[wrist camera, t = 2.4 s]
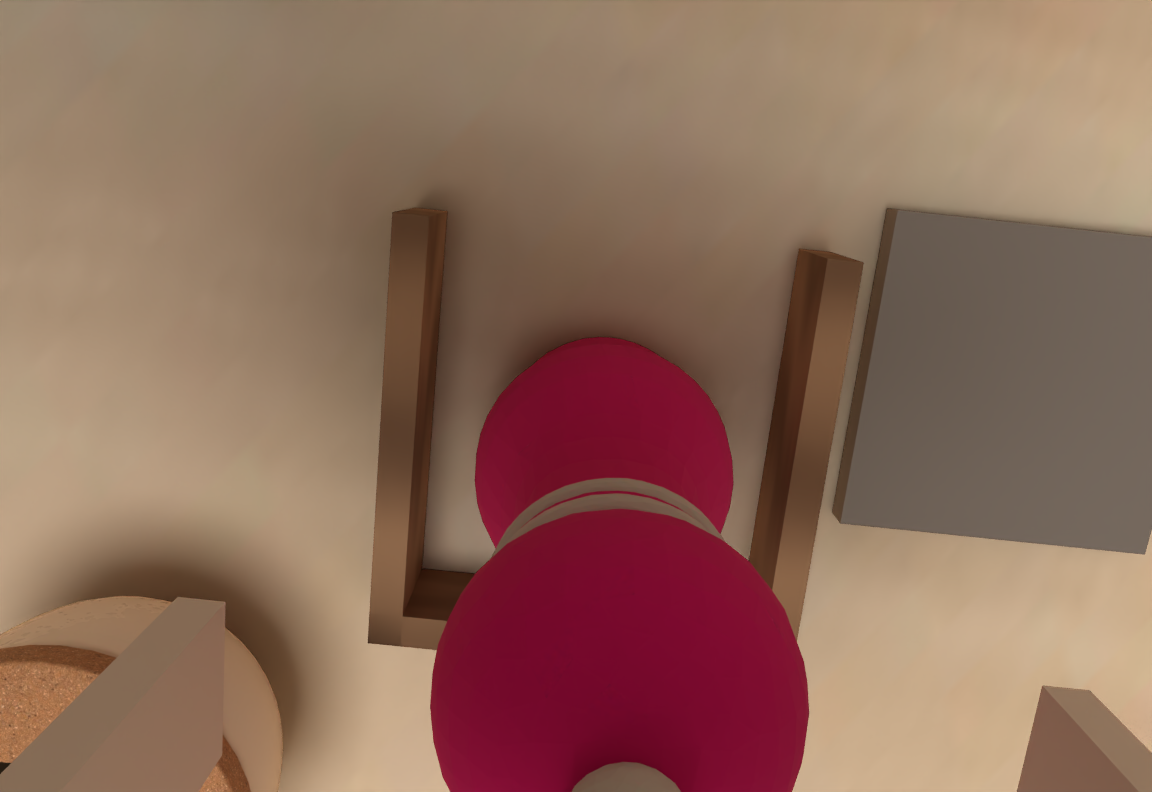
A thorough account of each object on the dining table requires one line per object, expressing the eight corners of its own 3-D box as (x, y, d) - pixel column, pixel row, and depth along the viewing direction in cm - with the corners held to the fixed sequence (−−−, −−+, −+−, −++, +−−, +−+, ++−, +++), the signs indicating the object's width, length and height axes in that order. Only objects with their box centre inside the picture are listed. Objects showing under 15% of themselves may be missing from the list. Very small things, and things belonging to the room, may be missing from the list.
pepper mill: (489, 319, 30) (306, 601, 10) (716, 322, 29) (974, 612, 10) (491, 532, 31) (337, 1125, 12) (705, 535, 31) (908, 1137, 12)
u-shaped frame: (415, 207, 29) (392, 212, 25) (830, 252, 29) (863, 262, 26) (390, 592, 32) (367, 643, 28) (767, 630, 32) (788, 684, 29)
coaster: (887, 208, 29) (897, 209, 28) (1206, 242, 29) (1227, 245, 28) (832, 512, 31) (840, 523, 30) (1127, 542, 31) (1145, 554, 30)
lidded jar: (-26, 580, 32) (-272, 742, 23) (273, 517, 31) (144, 658, 22) (79, 843, 34) (-105, 1086, 25) (358, 789, 34) (274, 1018, 24)
